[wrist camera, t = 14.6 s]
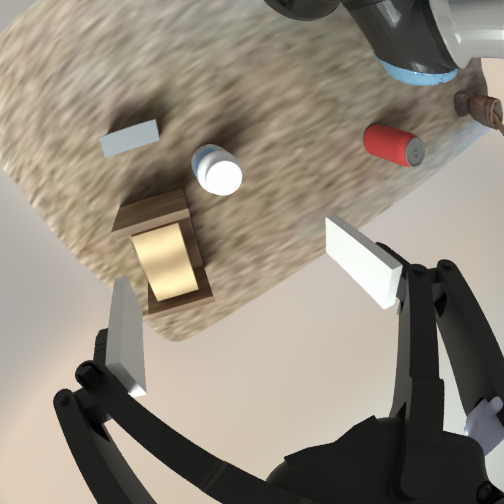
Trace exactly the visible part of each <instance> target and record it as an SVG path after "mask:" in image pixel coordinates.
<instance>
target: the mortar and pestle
mask: <svg viewBox="0 0 504 504" xmlns="http://www.w3.org/2000/svg"><path fill="white" fill-rule="evenodd" d="M454 103H455V109H456V112H457V114H458V115H459V116H466V115H468V113H469V114H470V115H471V116H472V118H473V119H474V120H476V121H478V122H479V123H481V124H482V125H484V126H488V127H490V128H493V129H496V130H498V129H499V130H500V132H501V133H502V134H503V136H504V125H503V124H502V118H503V112H502V105H501V101H500V100H499V99H497V98H493V97H489V96H484V95H475V96H473V97H471V98H470V99H469V97H468V96H467V95H466V94H465V93H463V92H458V93H457V94H456V96H455V100H454Z"/></svg>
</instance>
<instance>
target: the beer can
mask: <svg viewBox="0 0 504 504" xmlns="http://www.w3.org/2000/svg"><path fill="white" fill-rule="evenodd" d="M364 146H365V148H366V150H367V151H368V152H369V153H370V154H372V155H375V156H378V157H380V158H383V159H386V160H389V161H391V162H394V163H396V164H399V165H402V166H407V167H417V166H418V165H420V164H421V162H422V161H423V158H424V155H425V146H424V143H423V141H422V140H421V139H420V138H418V137H417V136H415V135H414V134H412V133H410V132H406V131H403V130H399V129H394V128H390V127H386V126H382V125H376V124H375V125H372V126H370V127H369V128H368V129H367V130H366V132H365V135H364Z"/></svg>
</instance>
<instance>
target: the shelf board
mask: <svg viewBox="0 0 504 504" xmlns="http://www.w3.org/2000/svg"><path fill="white" fill-rule="evenodd" d="M131 239H132V241H133V244H134V246H135V249H136V251H137V254H138V256H139V259H140V261H141V264H142V266H143V269H144V271H145V273H146V276H147V278H148V280H149V283H150V285H151V287H152V289H153V292H154V294H155V296H156V298H157V300H158V301H161V300H164V299H168V298H171V297H174V296H178V295H181V294H185V293H188V292H191V291H195V290H198V285H197V281H196V277H195V274H194V271H193V268H192V265H191V262H190V259H189V255H188V252H187V249H186V246H185V242H184V239H183V236H182V233H181V229H180V226H179V222H178V220H177V221H174V222H171V223H167V224H164V225H161V226H157V227H154V228H151V229H148V230H144V231H141V232H138V233H135V234H132V235H131Z"/></svg>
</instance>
